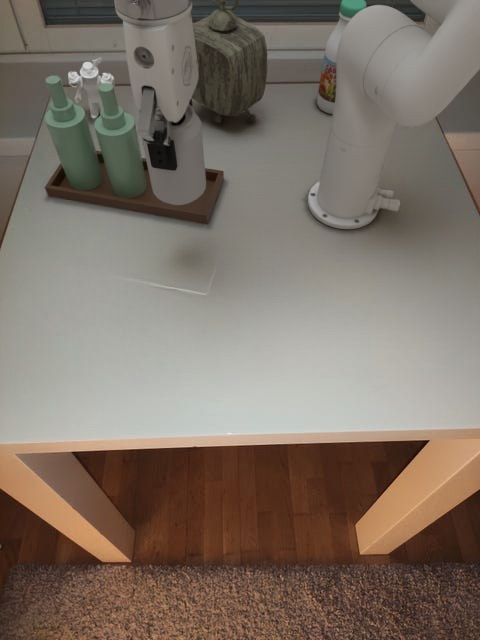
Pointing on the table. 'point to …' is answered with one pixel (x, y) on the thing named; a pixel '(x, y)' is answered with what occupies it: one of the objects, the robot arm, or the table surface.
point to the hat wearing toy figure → (90, 84)
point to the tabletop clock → (229, 63)
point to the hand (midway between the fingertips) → (173, 145)
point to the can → (181, 162)
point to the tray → (144, 202)
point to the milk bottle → (335, 55)
